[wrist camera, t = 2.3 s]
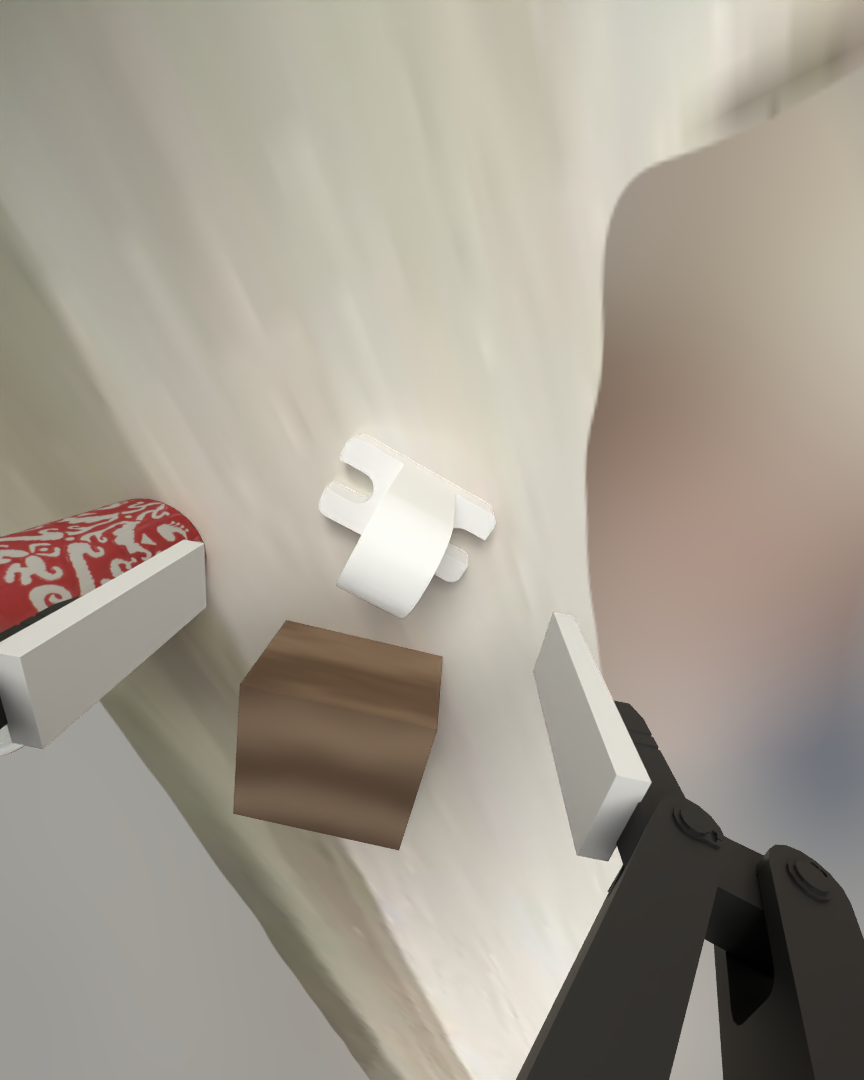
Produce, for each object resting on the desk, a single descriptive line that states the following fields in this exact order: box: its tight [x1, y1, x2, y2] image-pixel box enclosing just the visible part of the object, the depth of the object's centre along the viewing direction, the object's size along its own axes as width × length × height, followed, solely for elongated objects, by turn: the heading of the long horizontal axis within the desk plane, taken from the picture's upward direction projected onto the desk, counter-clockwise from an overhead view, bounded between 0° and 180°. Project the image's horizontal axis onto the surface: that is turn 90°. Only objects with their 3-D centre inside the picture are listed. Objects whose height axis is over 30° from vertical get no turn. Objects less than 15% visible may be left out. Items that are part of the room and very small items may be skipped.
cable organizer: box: [318, 433, 496, 619], centre depth 21 cm, size 5×10×10 cm, turn 61°
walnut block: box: [233, 620, 442, 850], centre depth 29 cm, size 12×12×7 cm
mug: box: [0, 499, 206, 756], centre depth 22 cm, size 13×9×14 cm
